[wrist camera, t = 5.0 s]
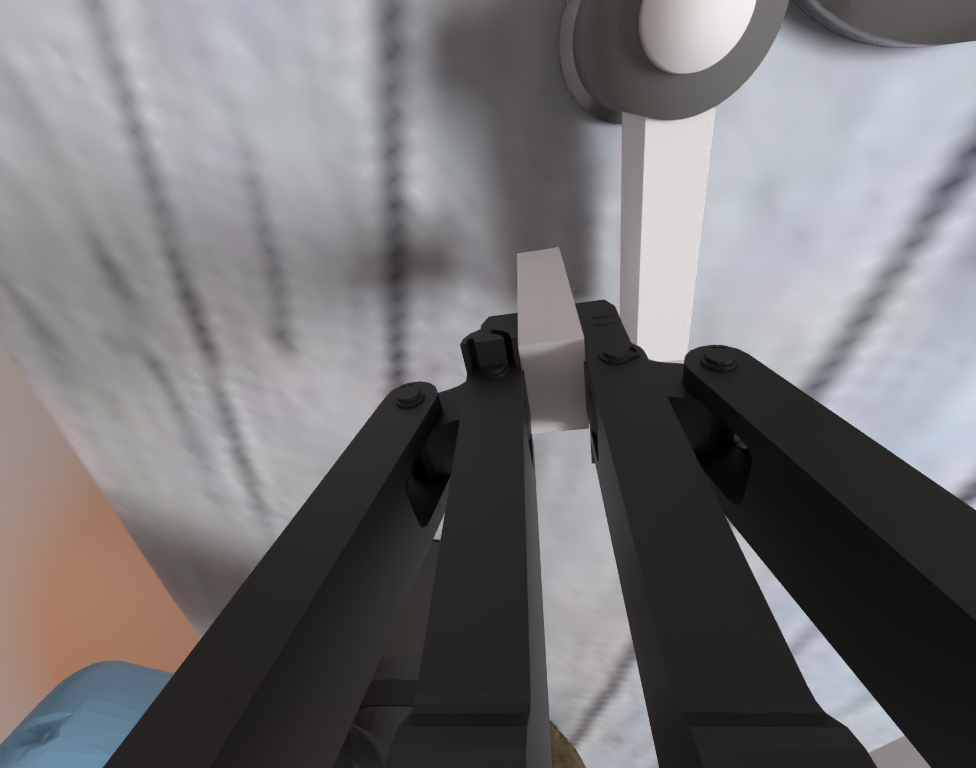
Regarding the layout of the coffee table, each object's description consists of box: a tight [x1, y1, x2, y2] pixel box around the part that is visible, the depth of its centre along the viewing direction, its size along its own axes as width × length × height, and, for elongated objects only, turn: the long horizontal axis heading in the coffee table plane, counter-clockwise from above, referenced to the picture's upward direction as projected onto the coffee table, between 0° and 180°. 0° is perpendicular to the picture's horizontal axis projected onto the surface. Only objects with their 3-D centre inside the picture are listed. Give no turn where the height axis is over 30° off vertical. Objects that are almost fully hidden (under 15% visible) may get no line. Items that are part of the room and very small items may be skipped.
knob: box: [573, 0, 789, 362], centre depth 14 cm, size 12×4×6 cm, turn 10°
